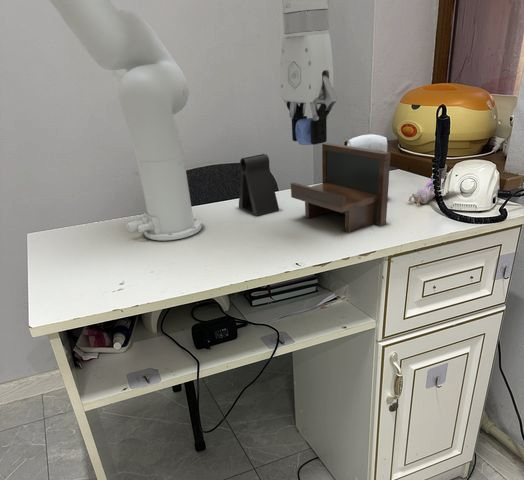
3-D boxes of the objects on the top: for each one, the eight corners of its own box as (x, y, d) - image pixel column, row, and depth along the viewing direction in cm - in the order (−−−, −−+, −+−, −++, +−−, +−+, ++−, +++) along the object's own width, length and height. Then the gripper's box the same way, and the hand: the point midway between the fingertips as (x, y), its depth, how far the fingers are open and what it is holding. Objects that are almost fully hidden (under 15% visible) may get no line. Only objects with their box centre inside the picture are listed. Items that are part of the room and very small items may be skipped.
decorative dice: (302, 146, 89) (301, 122, 87) (295, 142, 93) (294, 119, 90) (323, 143, 90) (322, 119, 88) (315, 140, 93) (315, 117, 91)
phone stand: (279, 210, 114) (275, 156, 107) (256, 216, 112) (252, 161, 105) (259, 202, 121) (255, 151, 114) (238, 207, 118) (233, 155, 112)
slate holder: (344, 238, 96) (346, 163, 88) (288, 218, 109) (285, 151, 101) (386, 224, 101) (390, 152, 93) (327, 206, 114) (327, 142, 106)
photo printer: (381, 182, 128) (384, 131, 121) (387, 186, 124) (390, 134, 118) (343, 186, 127) (344, 135, 120) (348, 190, 123) (349, 138, 117)
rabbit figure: (424, 213, 108) (470, 189, 113) (423, 187, 105) (472, 163, 109) (403, 207, 113) (449, 184, 117) (402, 182, 109) (449, 159, 114)
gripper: (259, 30, 86) (267, 140, 96) (320, 23, 74) (322, 150, 83) (294, 27, 89) (298, 134, 99) (357, 19, 77) (355, 143, 86)
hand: (309, 140), depth 91 cm, fingers closed on decorative dice, 5 cm apart
